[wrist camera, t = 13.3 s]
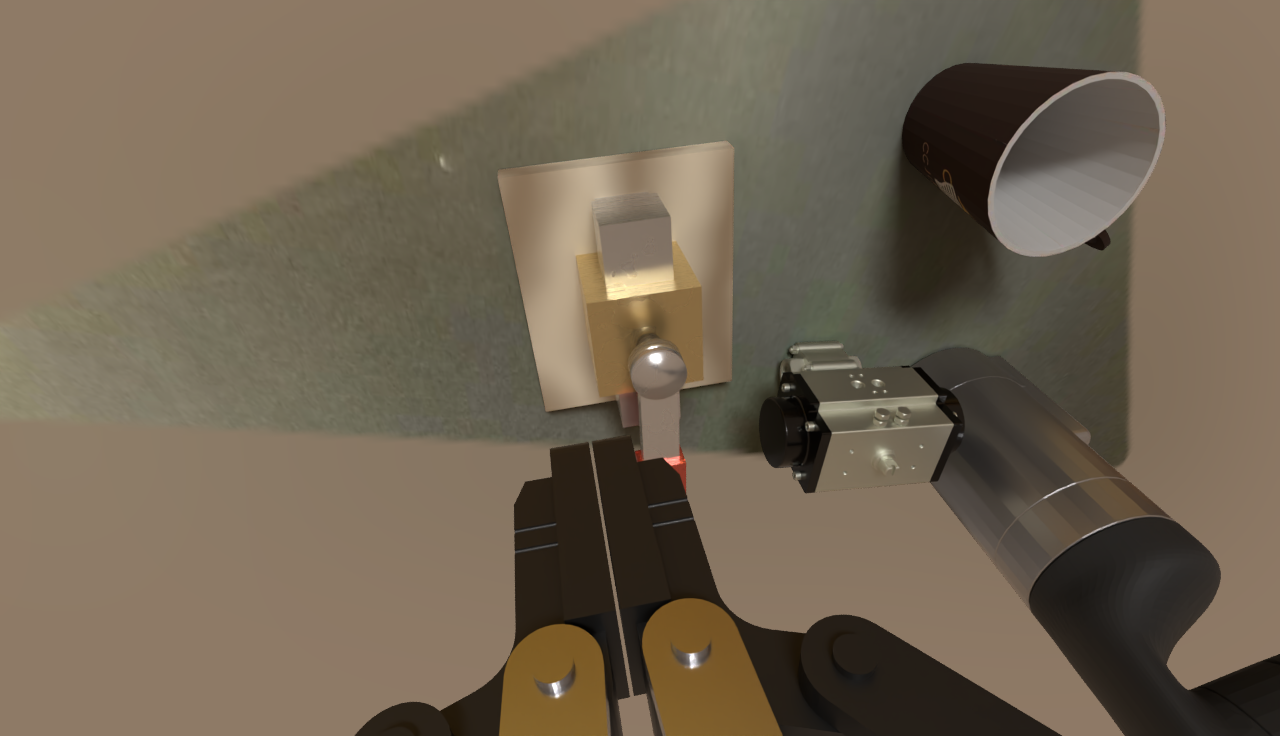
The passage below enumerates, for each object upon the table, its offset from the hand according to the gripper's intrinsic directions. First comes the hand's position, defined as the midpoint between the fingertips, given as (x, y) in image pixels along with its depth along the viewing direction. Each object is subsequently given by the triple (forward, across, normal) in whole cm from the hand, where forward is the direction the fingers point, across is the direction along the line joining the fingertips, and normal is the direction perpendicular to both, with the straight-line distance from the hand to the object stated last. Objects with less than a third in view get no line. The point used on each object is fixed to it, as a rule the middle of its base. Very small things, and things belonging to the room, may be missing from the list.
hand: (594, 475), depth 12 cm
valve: (+26, -4, +10) cm, 28 cm away
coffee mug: (+27, -25, +4) cm, 37 cm away
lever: (+18, -4, +15) cm, 24 cm away
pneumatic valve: (+27, -17, +18) cm, 37 cm away
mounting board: (+27, -4, +10) cm, 29 cm away
